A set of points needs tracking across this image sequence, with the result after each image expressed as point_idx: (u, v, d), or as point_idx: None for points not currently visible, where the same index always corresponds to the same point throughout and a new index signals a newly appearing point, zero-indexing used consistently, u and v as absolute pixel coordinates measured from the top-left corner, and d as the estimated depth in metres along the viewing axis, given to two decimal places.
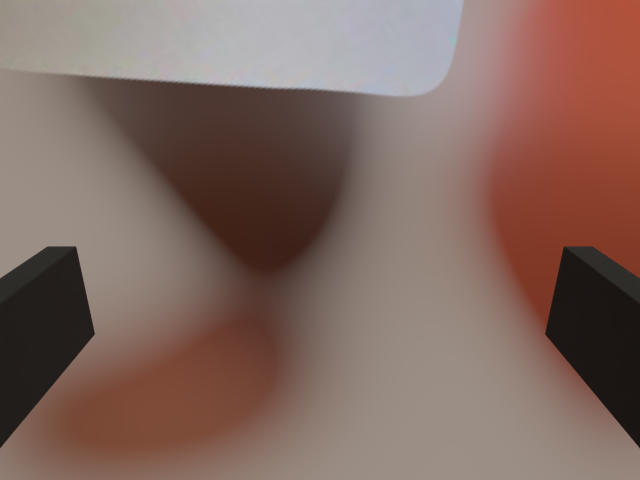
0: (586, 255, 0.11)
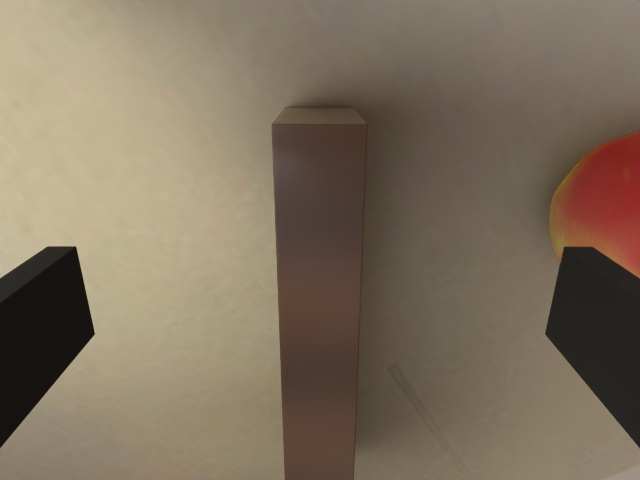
0: (586, 255, 0.11)
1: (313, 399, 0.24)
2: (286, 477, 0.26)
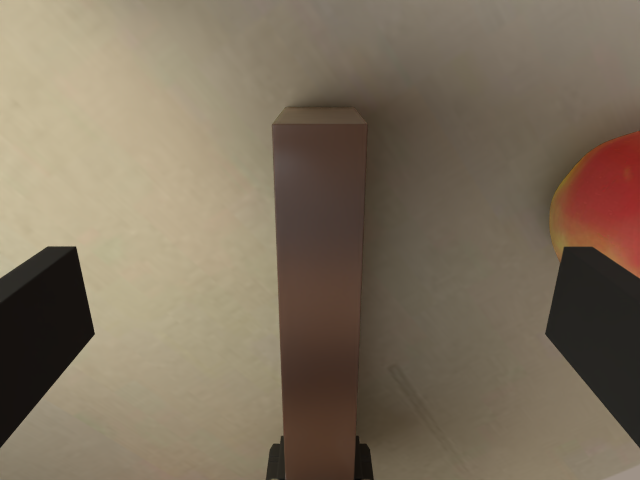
0: (586, 255, 0.11)
1: (313, 399, 0.24)
2: (286, 477, 0.26)
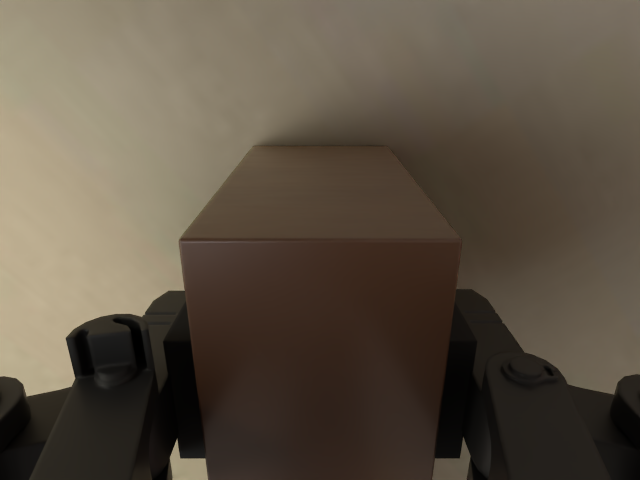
0: None
1: None
2: None
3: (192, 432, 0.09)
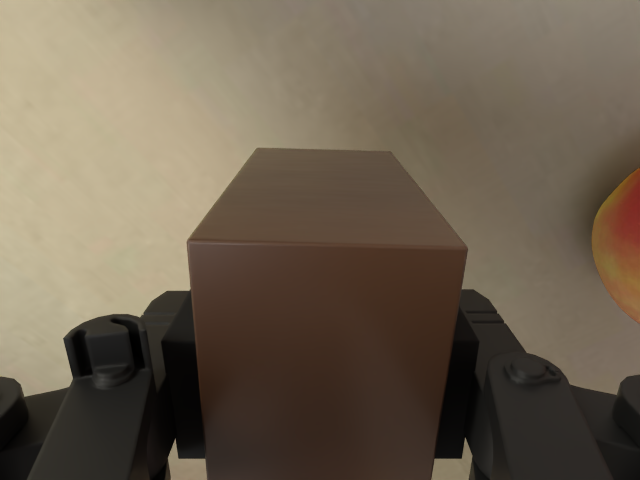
0: None
1: None
2: None
3: (190, 432, 0.09)
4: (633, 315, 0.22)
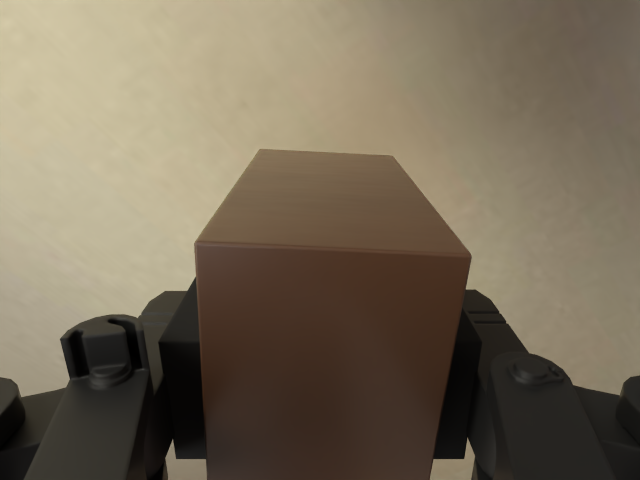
0: None
1: None
2: None
3: (188, 433, 0.09)
4: None
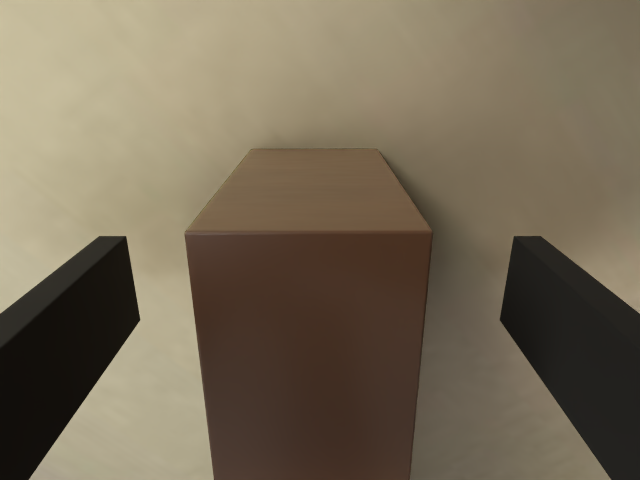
0: (533, 244, 0.12)
1: None
2: None
3: None
4: None
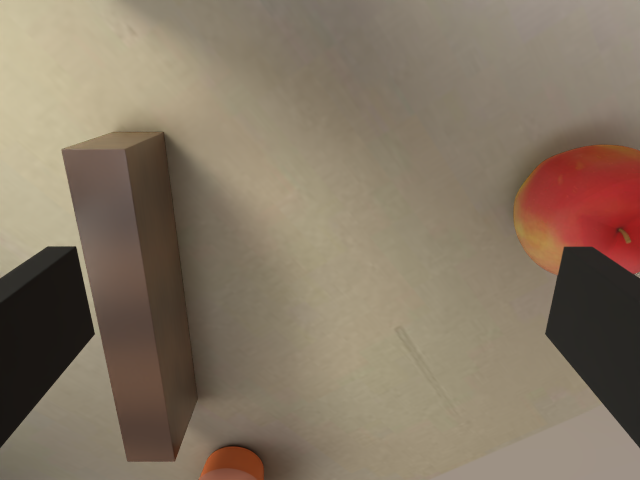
0: (586, 255, 0.11)
1: (124, 343, 0.33)
2: (116, 404, 0.35)
3: None
4: (537, 262, 0.32)
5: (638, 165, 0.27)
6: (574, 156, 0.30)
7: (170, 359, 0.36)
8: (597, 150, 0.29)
